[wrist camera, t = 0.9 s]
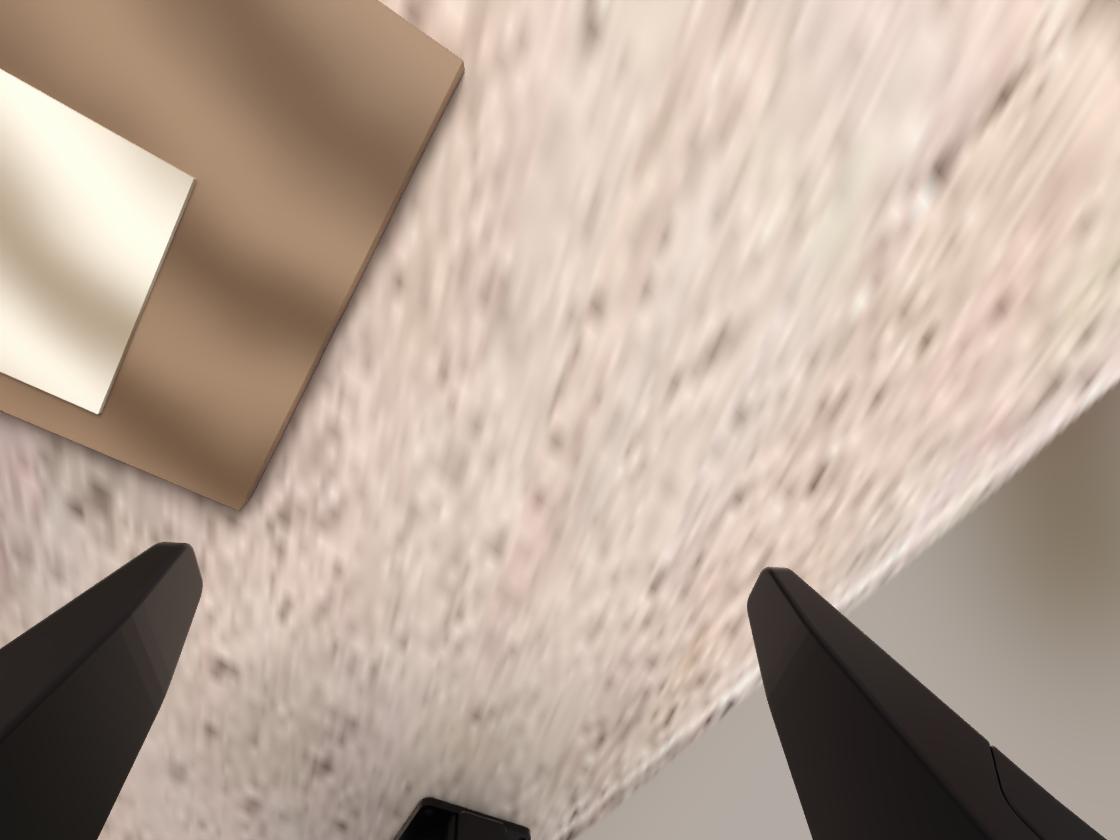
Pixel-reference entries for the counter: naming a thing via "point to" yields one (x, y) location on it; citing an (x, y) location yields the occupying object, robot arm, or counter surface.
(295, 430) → the counter surface
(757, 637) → the robot arm
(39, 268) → the walnut board
